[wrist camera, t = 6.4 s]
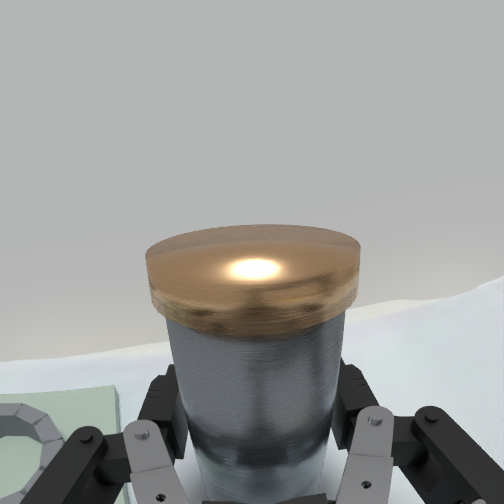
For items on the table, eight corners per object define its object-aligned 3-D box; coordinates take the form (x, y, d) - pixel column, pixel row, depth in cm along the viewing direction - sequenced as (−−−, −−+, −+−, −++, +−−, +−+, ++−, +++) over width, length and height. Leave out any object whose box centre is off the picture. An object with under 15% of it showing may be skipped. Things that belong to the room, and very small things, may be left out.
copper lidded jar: (288, 455, 16) (293, 219, 12) (338, 521, 11) (406, 252, 7) (195, 483, 14) (140, 237, 10) (230, 563, 8) (155, 299, 5)
